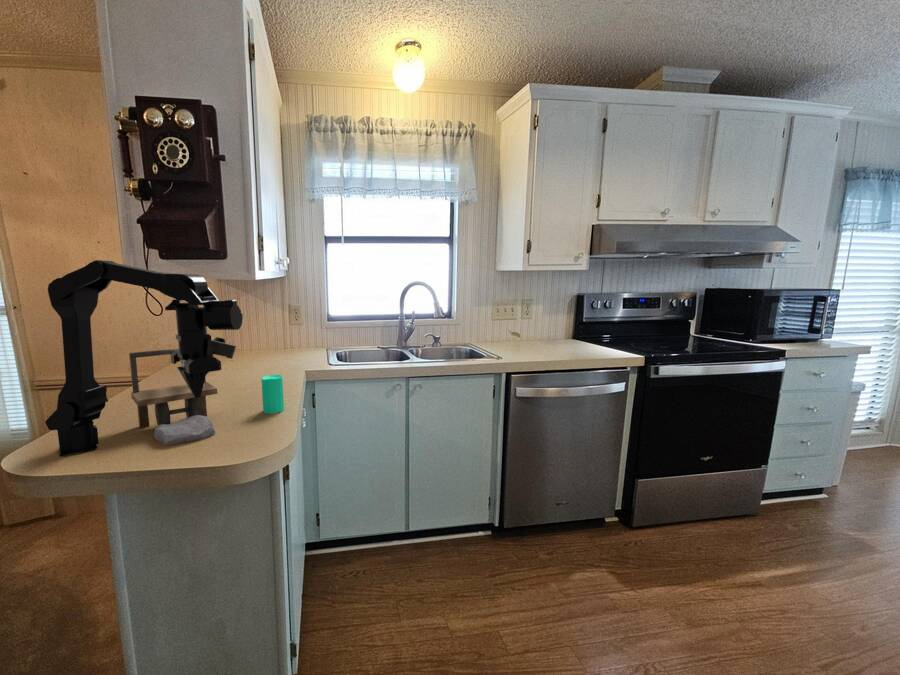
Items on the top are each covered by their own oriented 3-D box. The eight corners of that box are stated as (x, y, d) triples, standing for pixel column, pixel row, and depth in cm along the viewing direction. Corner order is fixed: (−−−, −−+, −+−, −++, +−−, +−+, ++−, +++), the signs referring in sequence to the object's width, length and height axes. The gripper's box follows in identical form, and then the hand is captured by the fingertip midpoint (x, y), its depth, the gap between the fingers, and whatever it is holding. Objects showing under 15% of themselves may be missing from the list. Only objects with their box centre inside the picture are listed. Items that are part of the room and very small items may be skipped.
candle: (274, 406, 134) (272, 369, 133) (288, 409, 132) (286, 370, 130) (258, 411, 129) (256, 372, 127) (272, 414, 126) (270, 374, 125)
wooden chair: (141, 437, 107) (133, 358, 105) (134, 426, 115) (127, 352, 113) (219, 421, 120) (214, 350, 117) (208, 412, 128) (203, 345, 125)
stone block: (219, 441, 111) (202, 425, 116) (219, 424, 109) (202, 409, 115) (168, 457, 101) (152, 439, 107) (167, 439, 100) (151, 422, 106)
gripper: (243, 330, 95) (248, 398, 97) (219, 324, 109) (223, 384, 111) (186, 335, 88) (192, 408, 90) (167, 327, 101) (173, 391, 103)
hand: (197, 397), depth 99 cm, fingers closed
